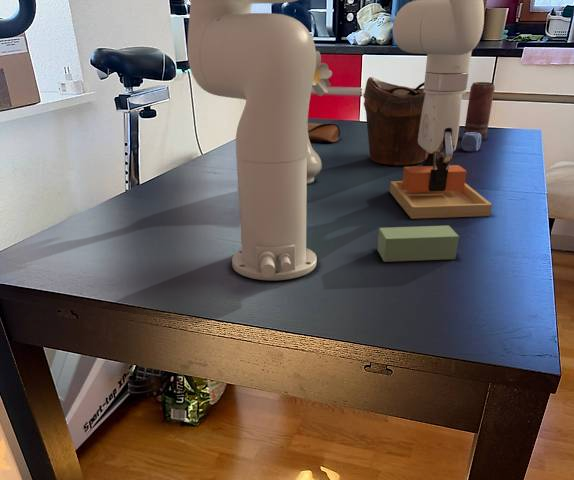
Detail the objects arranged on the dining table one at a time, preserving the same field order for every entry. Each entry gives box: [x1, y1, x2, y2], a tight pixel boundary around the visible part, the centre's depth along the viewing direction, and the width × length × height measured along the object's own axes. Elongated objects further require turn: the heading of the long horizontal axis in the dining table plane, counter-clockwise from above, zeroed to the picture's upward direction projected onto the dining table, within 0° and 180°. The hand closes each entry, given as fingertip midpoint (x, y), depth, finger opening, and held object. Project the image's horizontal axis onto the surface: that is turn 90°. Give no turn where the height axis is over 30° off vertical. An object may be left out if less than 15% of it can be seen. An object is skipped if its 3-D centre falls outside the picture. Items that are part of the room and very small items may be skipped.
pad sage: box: [377, 225, 460, 263], centre depth 88 cm, size 5×11×4 cm, turn 94°
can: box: [463, 81, 495, 141], centre depth 158 cm, size 6×6×14 cm
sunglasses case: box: [308, 122, 341, 144], centre depth 163 cm, size 18×7×7 cm
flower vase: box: [307, 50, 333, 185], centre depth 119 cm, size 13×18×25 cm
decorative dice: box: [460, 132, 482, 153], centre depth 148 cm, size 4×4×4 cm
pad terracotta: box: [402, 164, 468, 192], centre depth 112 cm, size 5×11×4 cm, turn 94°
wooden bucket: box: [363, 76, 426, 167], centre depth 136 cm, size 18×20×18 cm
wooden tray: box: [389, 180, 493, 220], centre depth 110 cm, size 18×15×2 cm
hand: (432, 185), depth 113 cm, fingers closed on pad terracotta, 4 cm apart
